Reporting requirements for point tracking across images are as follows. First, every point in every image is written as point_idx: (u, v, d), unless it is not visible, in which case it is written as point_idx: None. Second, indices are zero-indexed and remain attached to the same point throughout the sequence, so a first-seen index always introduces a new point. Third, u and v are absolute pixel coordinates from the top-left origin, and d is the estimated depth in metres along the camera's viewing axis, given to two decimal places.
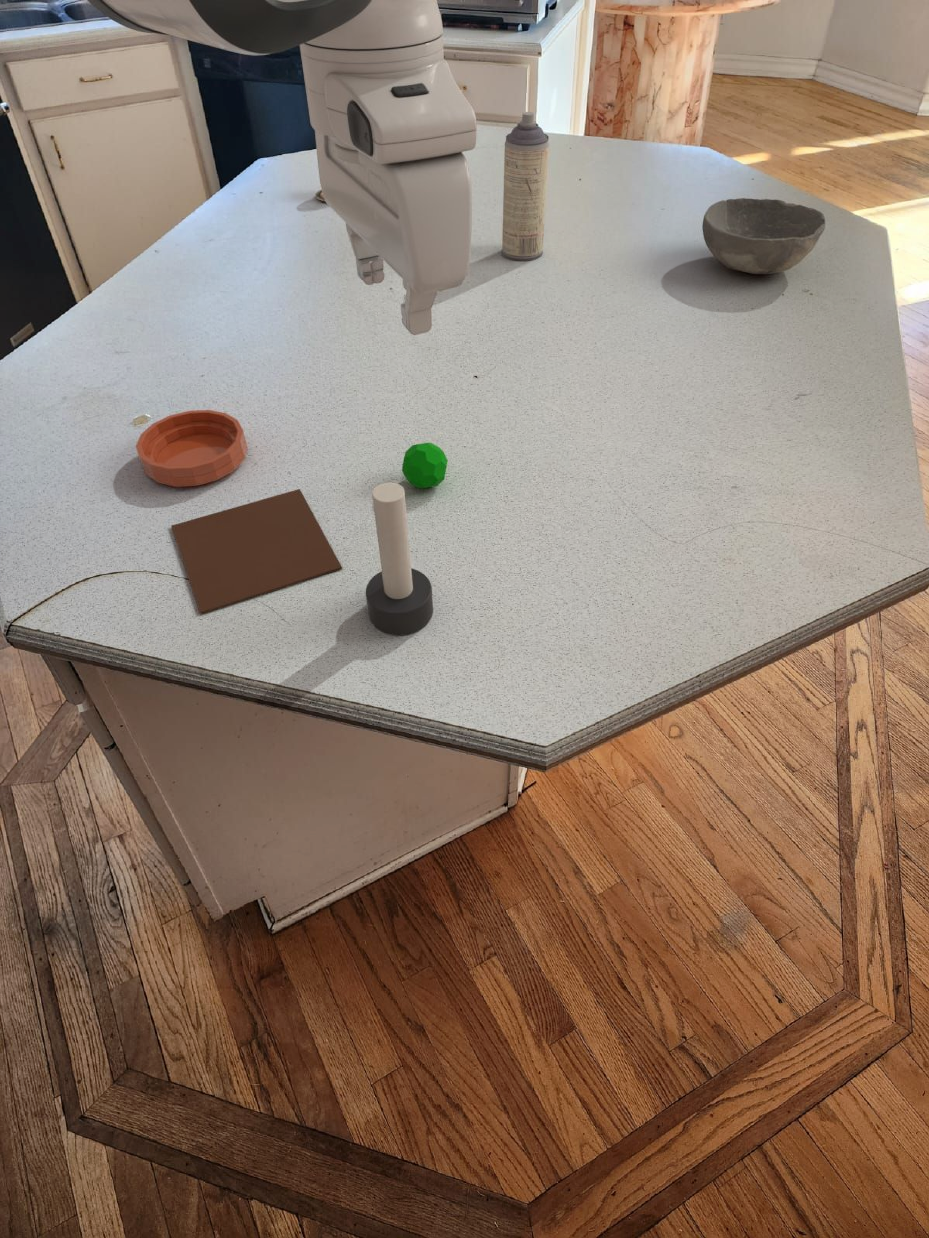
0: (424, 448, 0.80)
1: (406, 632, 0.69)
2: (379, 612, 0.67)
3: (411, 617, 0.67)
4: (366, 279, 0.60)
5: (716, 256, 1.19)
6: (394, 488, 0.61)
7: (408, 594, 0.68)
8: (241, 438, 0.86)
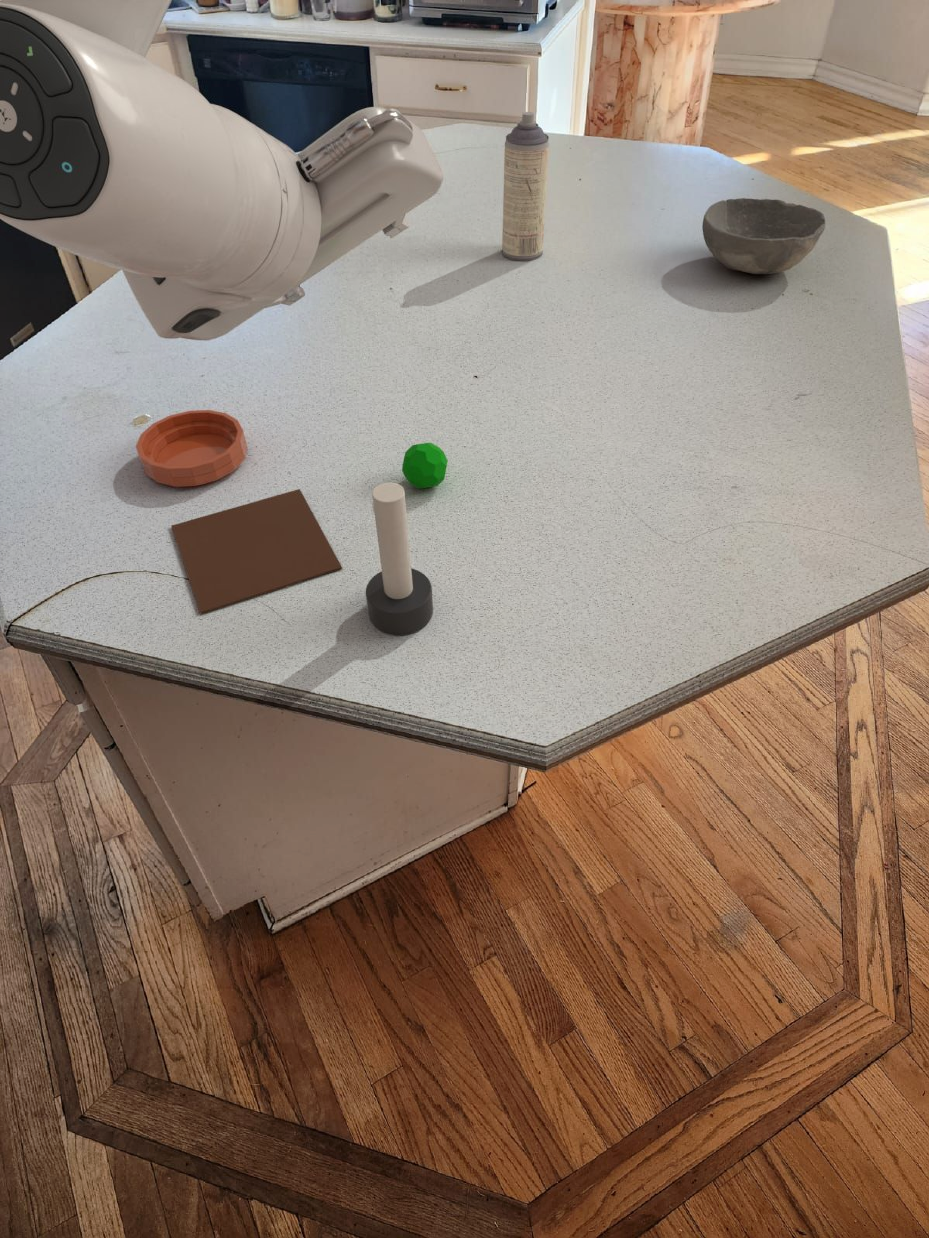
0: (424, 448, 0.80)
1: (406, 632, 0.69)
2: (379, 612, 0.67)
3: (411, 617, 0.67)
4: None
5: (716, 256, 1.19)
6: (394, 488, 0.61)
7: (408, 594, 0.68)
8: (241, 438, 0.86)
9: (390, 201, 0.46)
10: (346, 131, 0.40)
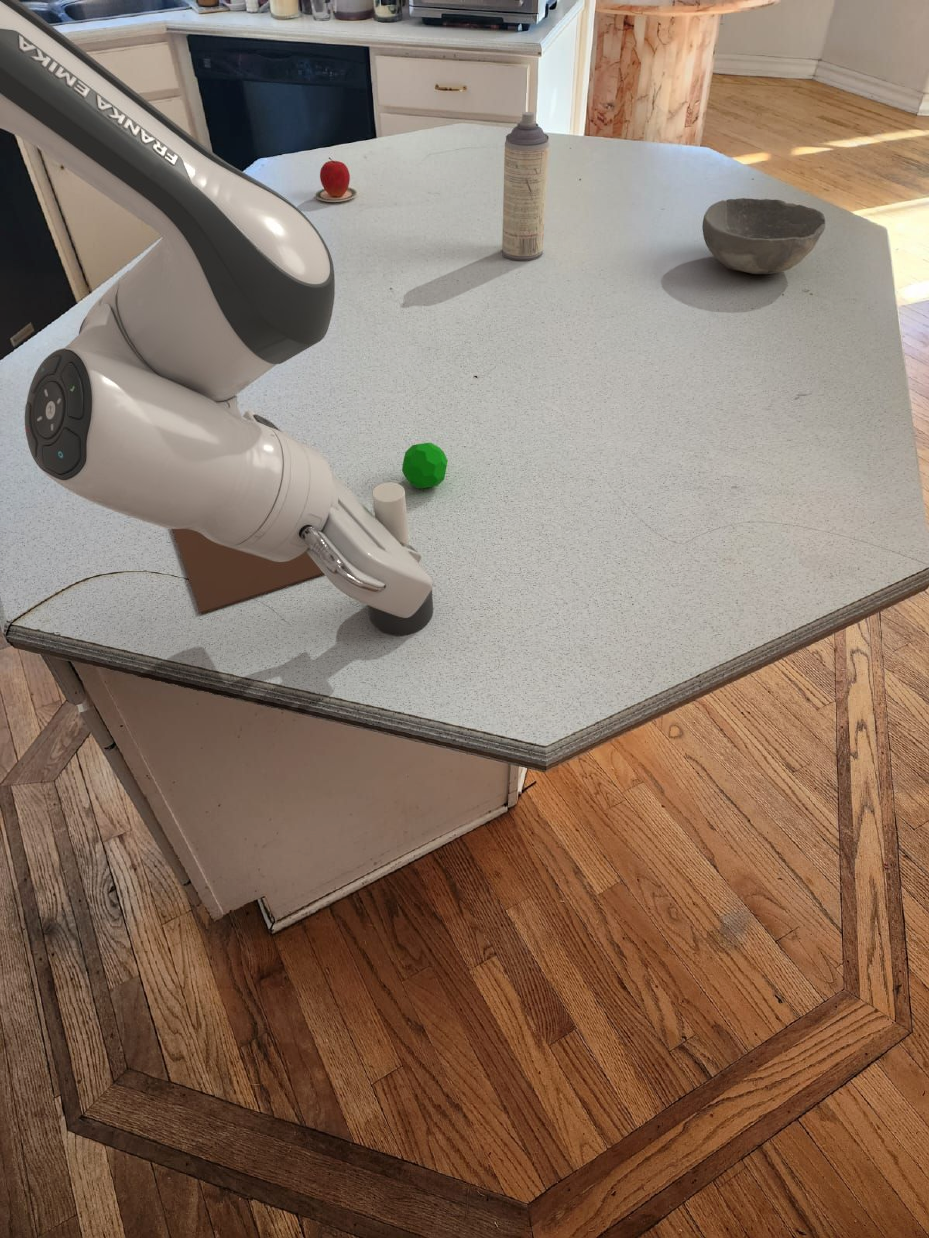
0: (424, 448, 0.80)
1: (406, 632, 0.69)
2: (379, 612, 0.67)
3: (411, 617, 0.67)
4: (408, 547, 0.64)
5: (716, 256, 1.19)
6: (394, 488, 0.61)
7: None
8: None
9: None
10: (324, 555, 0.50)
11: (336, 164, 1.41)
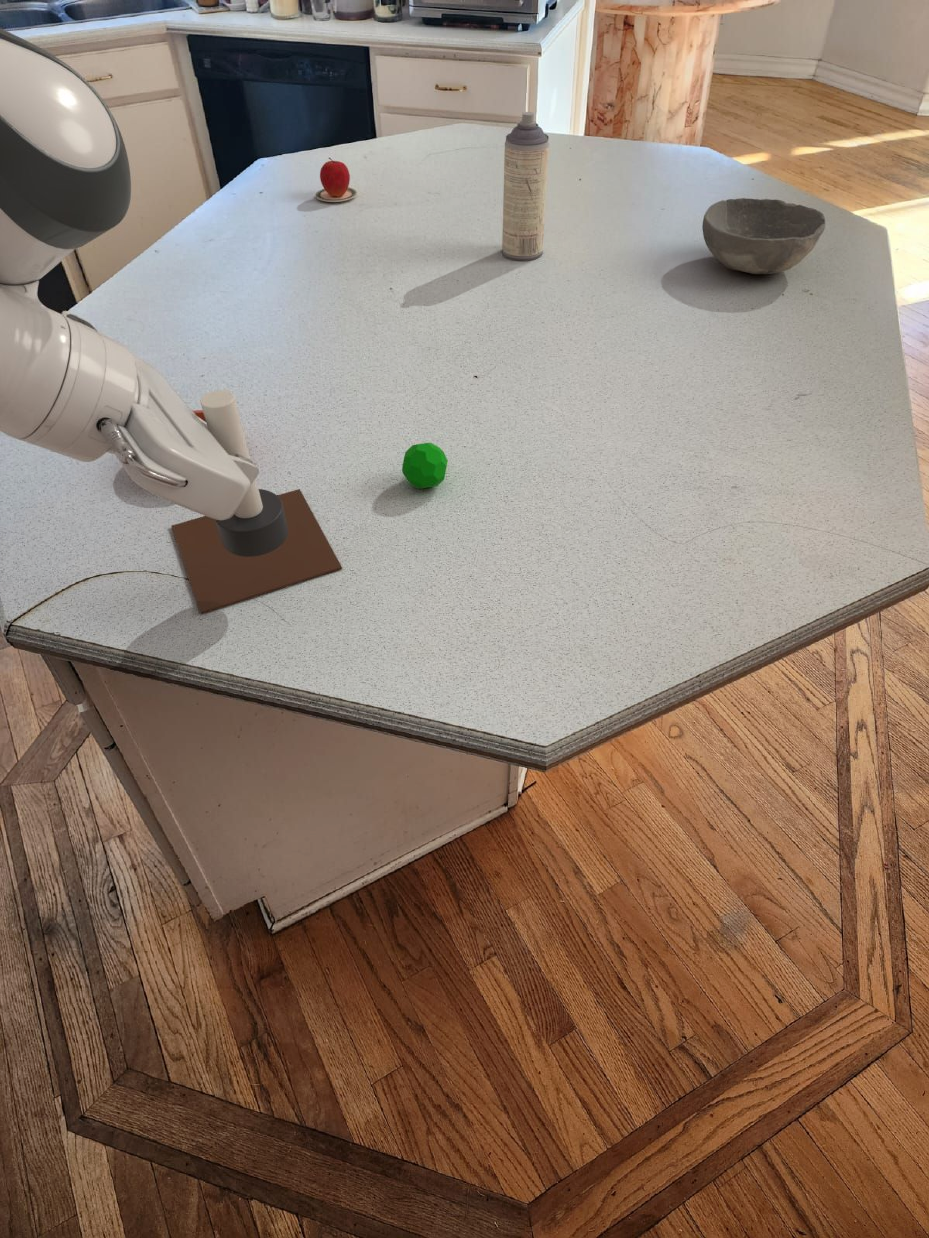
0: (424, 448, 0.80)
1: (256, 553, 0.67)
2: (225, 531, 0.66)
3: (258, 537, 0.66)
4: (247, 460, 0.62)
5: (716, 256, 1.19)
6: (224, 395, 0.59)
7: (256, 513, 0.66)
8: None
9: None
10: (115, 444, 0.48)
11: (336, 164, 1.41)
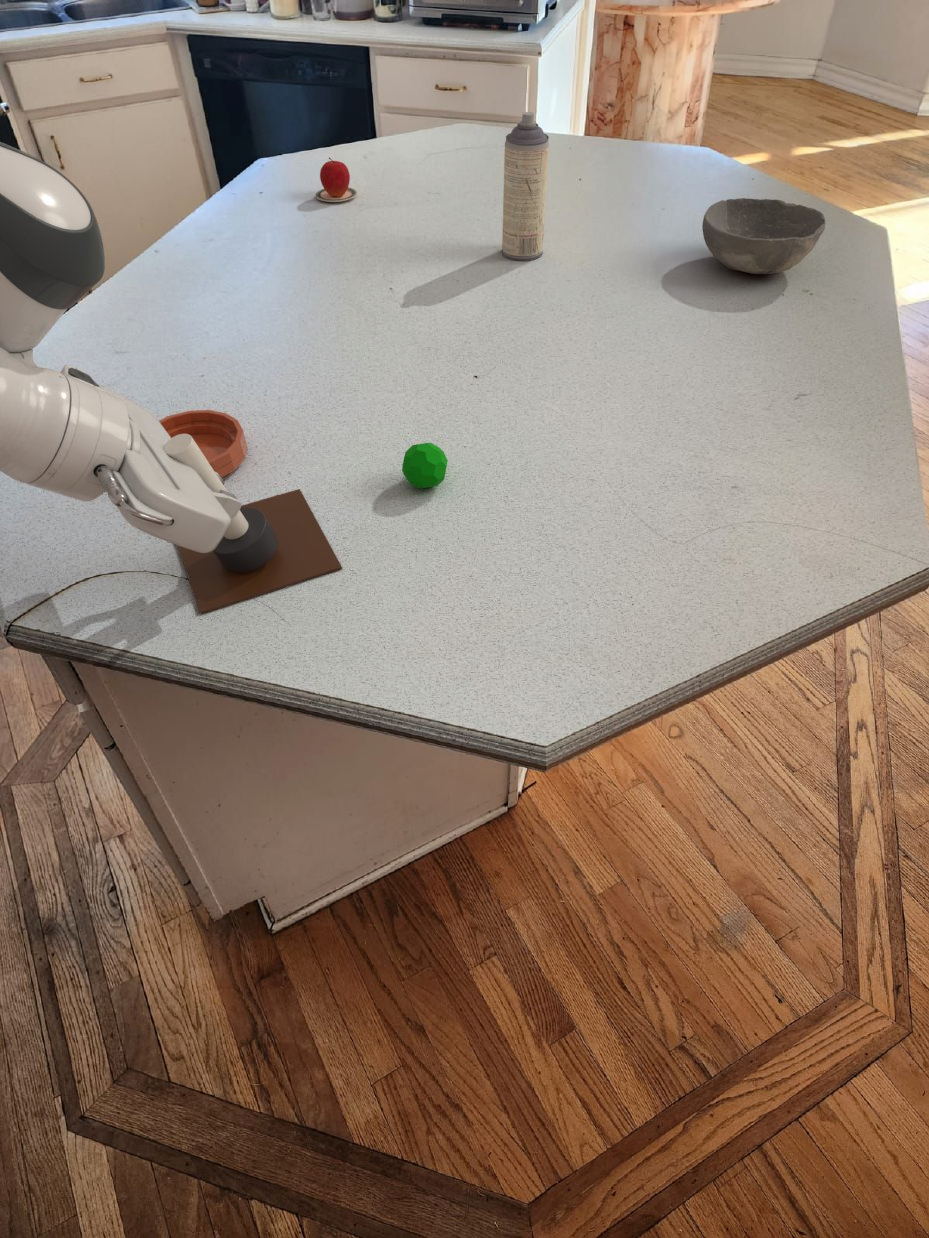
0: (424, 448, 0.80)
1: (248, 569, 0.73)
2: (217, 554, 0.72)
3: (246, 555, 0.72)
4: (231, 495, 0.69)
5: (716, 256, 1.19)
6: (184, 439, 0.65)
7: (242, 533, 0.72)
8: (241, 438, 0.86)
9: None
10: (109, 489, 0.55)
11: (336, 164, 1.41)
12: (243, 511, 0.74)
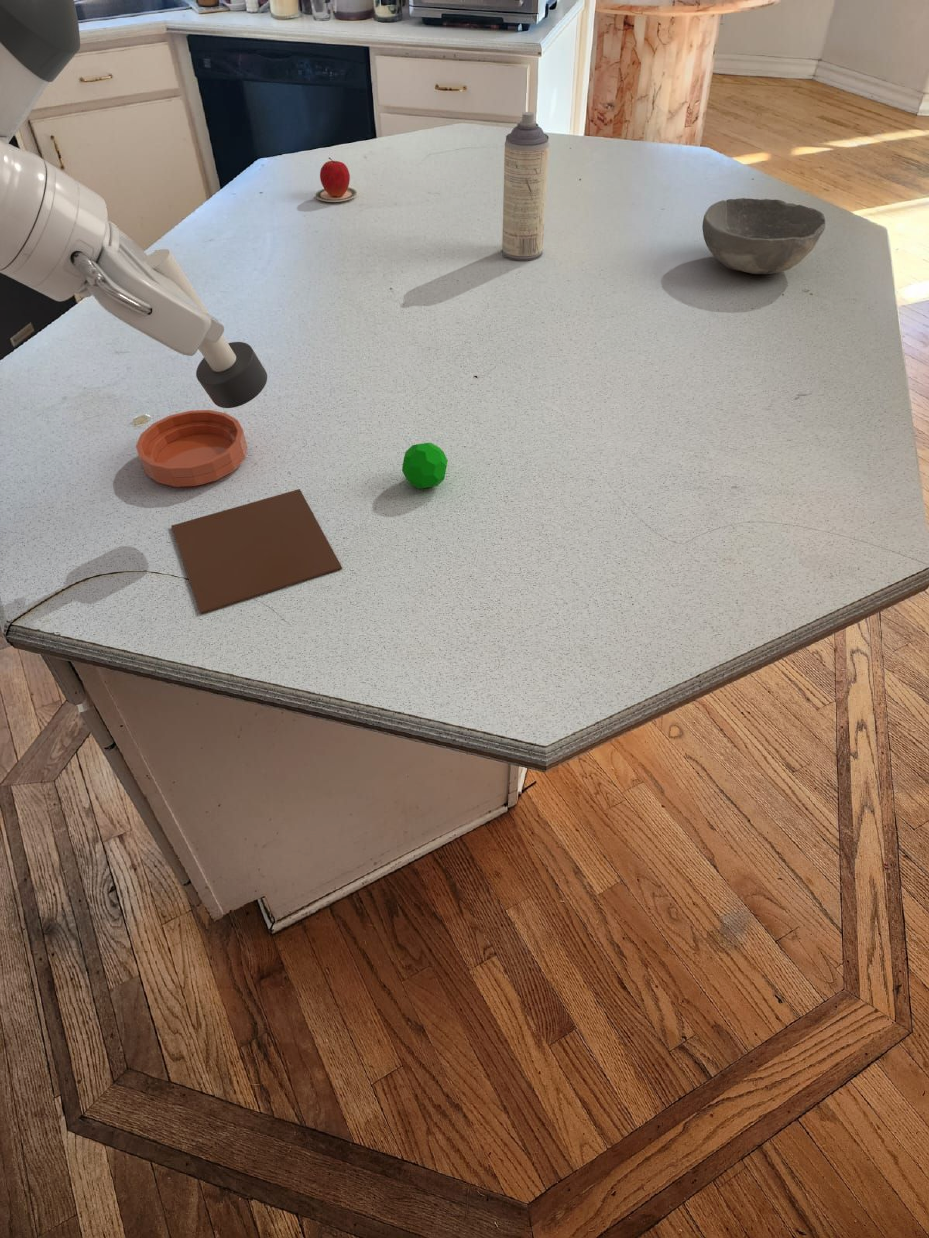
0: (424, 448, 0.80)
1: (237, 403, 0.73)
2: (205, 387, 0.72)
3: (233, 387, 0.71)
4: None
5: (716, 256, 1.19)
6: (162, 254, 0.63)
7: (229, 365, 0.71)
8: (241, 438, 0.86)
9: None
10: (86, 269, 0.54)
11: (336, 164, 1.41)
12: (232, 346, 0.73)
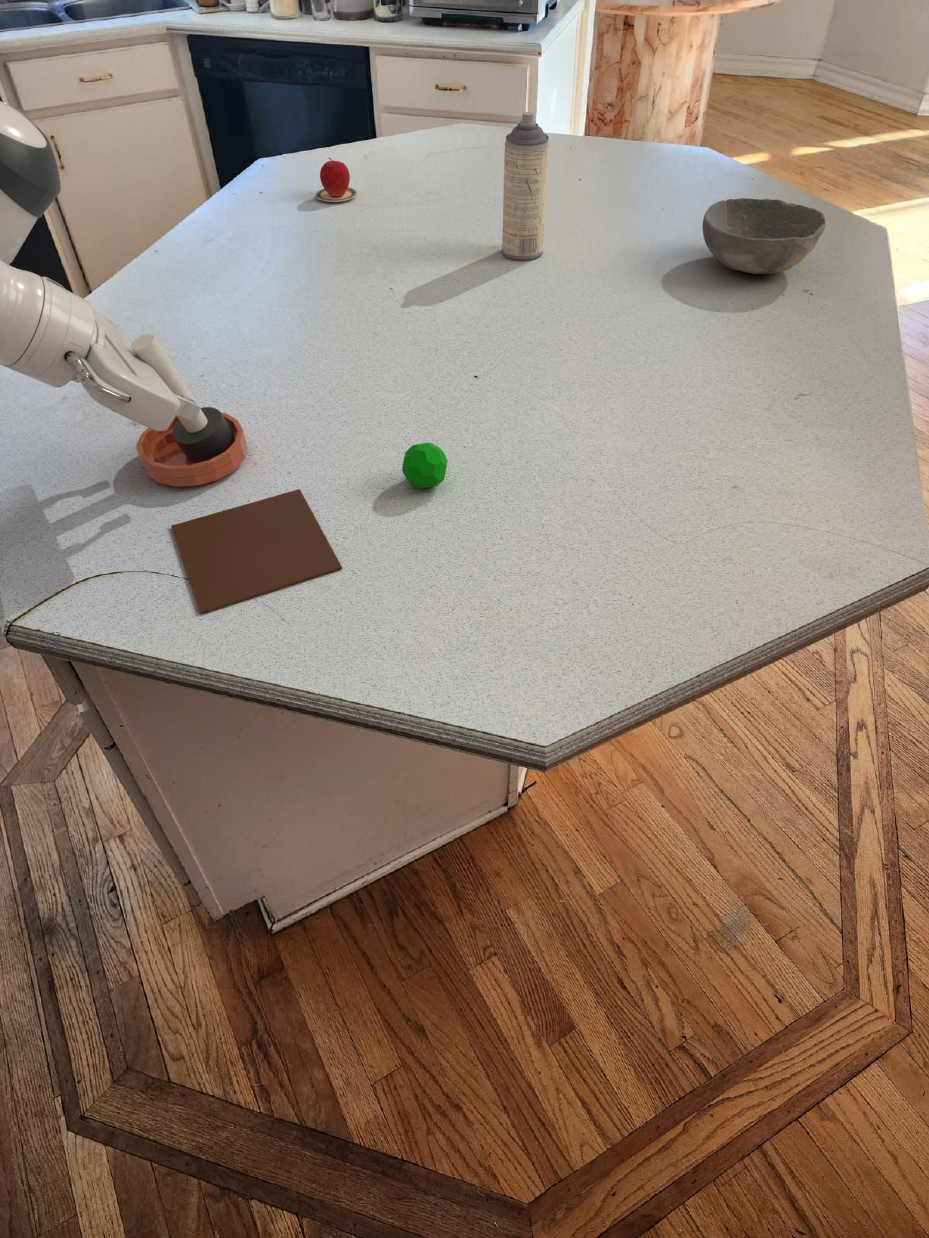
0: (424, 448, 0.80)
1: (206, 459, 0.85)
2: (179, 444, 0.84)
3: (204, 446, 0.84)
4: (191, 401, 0.80)
5: (716, 256, 1.19)
6: (148, 338, 0.76)
7: (201, 427, 0.84)
8: (241, 438, 0.86)
9: None
10: (76, 368, 0.67)
11: (336, 164, 1.41)
12: (204, 410, 0.86)
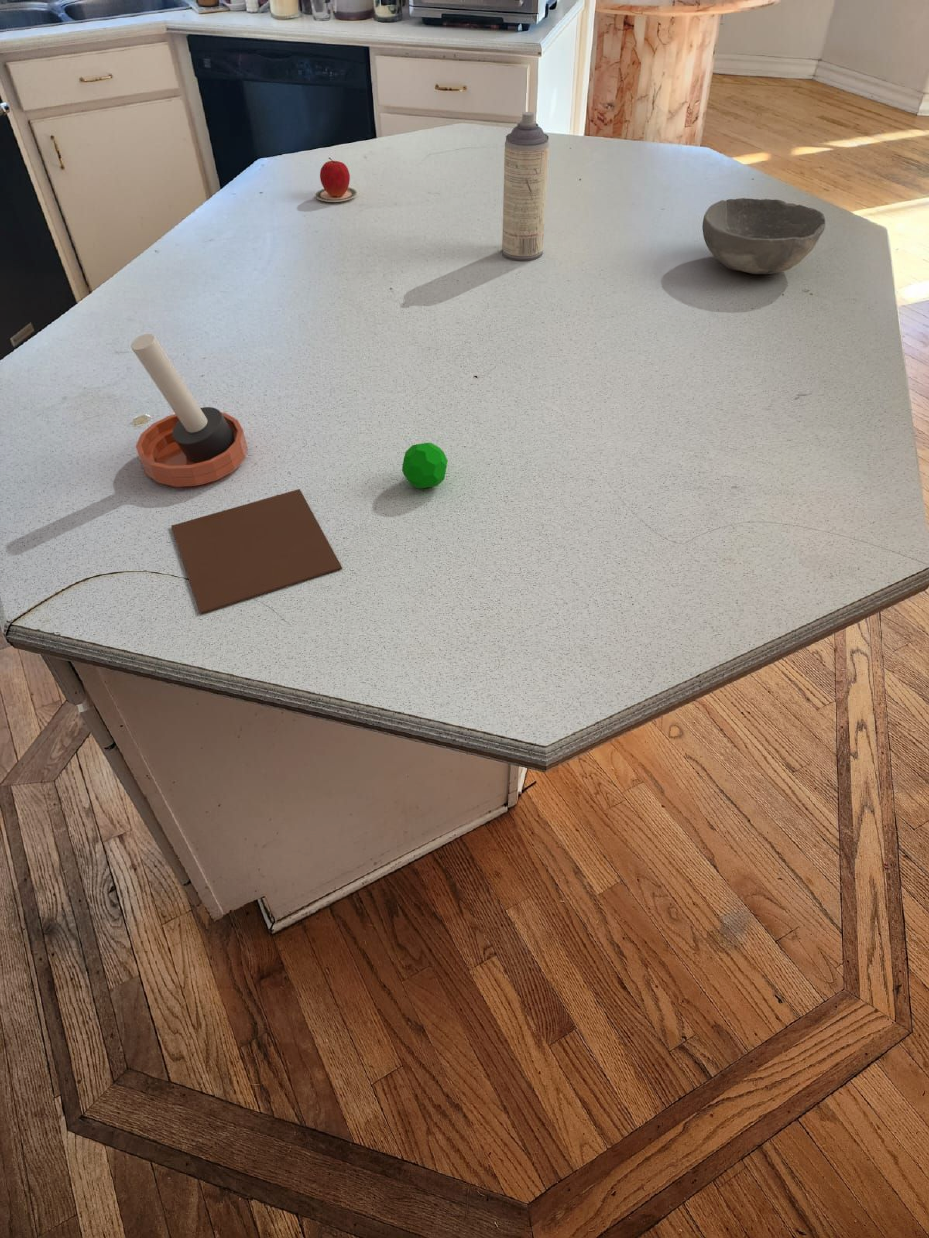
0: (424, 448, 0.80)
1: (206, 459, 0.85)
2: (179, 444, 0.84)
3: (204, 446, 0.84)
4: None
5: (716, 256, 1.19)
6: (148, 338, 0.76)
7: (201, 427, 0.84)
8: (241, 438, 0.86)
9: None
10: None
11: (336, 164, 1.41)
12: (204, 410, 0.86)
